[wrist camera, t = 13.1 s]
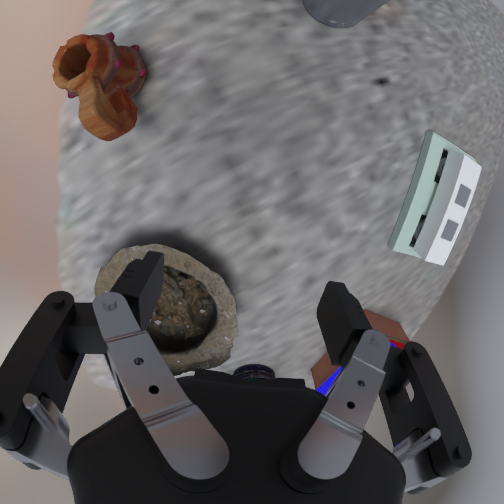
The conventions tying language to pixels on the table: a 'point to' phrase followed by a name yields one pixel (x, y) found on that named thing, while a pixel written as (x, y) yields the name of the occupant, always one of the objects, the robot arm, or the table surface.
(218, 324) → the stone bowl
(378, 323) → the house
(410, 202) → the hole board
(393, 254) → the table surface
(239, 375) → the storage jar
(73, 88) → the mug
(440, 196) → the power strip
